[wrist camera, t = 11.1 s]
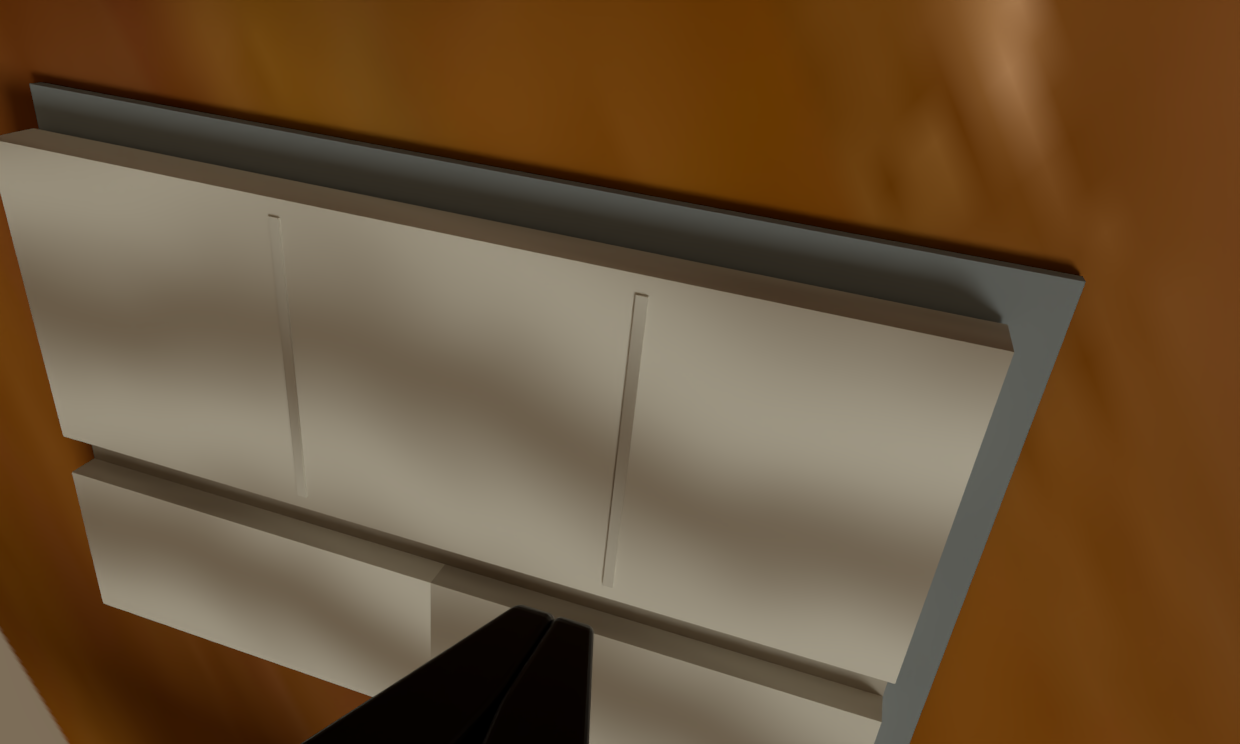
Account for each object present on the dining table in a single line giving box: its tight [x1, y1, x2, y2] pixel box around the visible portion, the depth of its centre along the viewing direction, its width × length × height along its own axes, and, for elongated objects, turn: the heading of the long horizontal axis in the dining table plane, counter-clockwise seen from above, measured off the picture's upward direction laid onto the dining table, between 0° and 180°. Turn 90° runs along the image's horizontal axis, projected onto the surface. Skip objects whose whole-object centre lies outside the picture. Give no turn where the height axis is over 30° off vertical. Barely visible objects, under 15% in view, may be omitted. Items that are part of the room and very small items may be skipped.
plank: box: [0, 128, 1014, 684], centre depth 19 cm, size 8×22×1 cm, turn 84°
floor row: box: [72, 445, 887, 744], centre depth 23 cm, size 5×22×1 cm, turn 84°
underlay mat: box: [30, 82, 1085, 744], centre depth 21 cm, size 15×23×1 cm, turn 84°
